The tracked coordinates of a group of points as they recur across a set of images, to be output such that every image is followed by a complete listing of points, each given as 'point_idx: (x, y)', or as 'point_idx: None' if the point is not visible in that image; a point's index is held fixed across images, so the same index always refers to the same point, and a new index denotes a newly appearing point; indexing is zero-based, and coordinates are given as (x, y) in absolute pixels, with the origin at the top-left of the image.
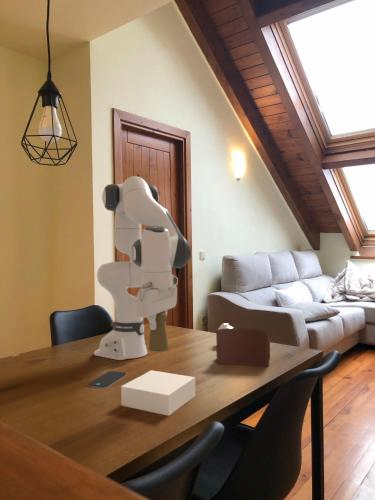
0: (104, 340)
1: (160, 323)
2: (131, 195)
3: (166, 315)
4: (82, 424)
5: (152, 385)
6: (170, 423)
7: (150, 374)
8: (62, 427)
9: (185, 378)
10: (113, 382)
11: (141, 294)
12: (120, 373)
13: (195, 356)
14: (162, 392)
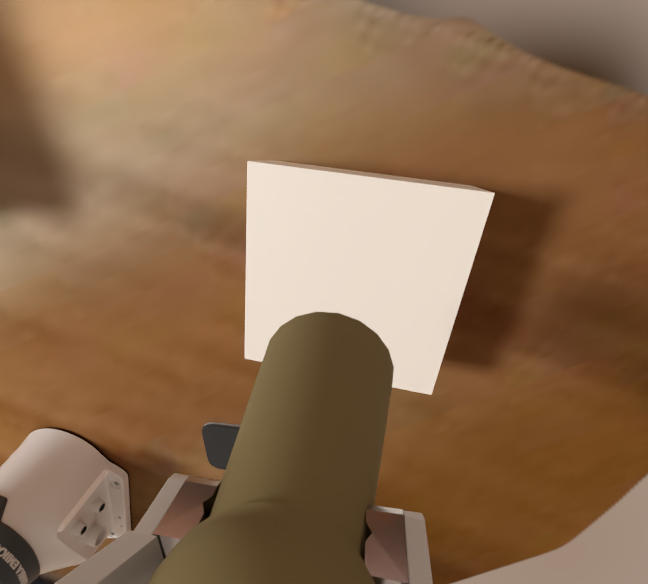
0: (83, 555)
1: (346, 540)
2: None
3: (75, 579)
4: (572, 399)
5: (395, 298)
6: (537, 153)
7: None
8: (595, 433)
9: (278, 199)
10: None
11: None
12: (215, 438)
13: None
14: (465, 231)
